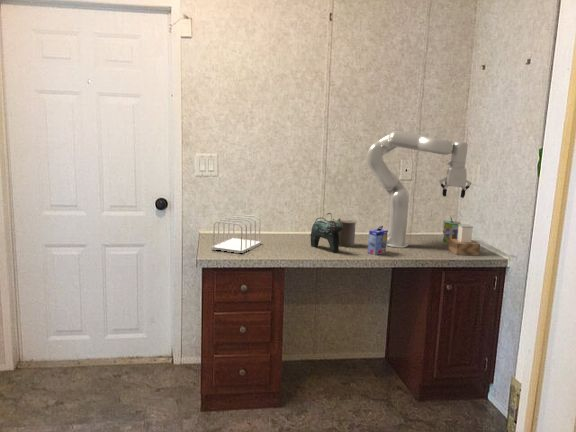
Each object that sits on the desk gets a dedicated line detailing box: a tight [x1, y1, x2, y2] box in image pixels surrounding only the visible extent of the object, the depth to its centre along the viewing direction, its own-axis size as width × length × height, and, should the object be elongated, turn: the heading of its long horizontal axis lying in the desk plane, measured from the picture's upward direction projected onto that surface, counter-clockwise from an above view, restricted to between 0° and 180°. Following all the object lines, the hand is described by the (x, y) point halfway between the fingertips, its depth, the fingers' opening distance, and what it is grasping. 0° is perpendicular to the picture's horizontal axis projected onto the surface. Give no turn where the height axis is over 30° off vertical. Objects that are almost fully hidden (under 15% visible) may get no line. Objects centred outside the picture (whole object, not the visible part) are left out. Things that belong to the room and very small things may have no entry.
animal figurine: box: [310, 212, 343, 254], centre depth 265 cm, size 20×6×20 cm, turn 41°
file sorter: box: [210, 213, 262, 254], centre depth 265 cm, size 25×17×16 cm
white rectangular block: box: [457, 223, 474, 243], centre depth 269 cm, size 6×6×9 cm
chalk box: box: [441, 216, 462, 243], centre depth 296 cm, size 9×9×15 cm
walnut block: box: [448, 239, 481, 256], centre depth 270 cm, size 12×12×6 cm
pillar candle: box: [338, 219, 356, 248], centre depth 277 cm, size 10×10×15 cm
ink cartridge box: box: [367, 225, 389, 256], centre depth 262 cm, size 10×6×14 cm, turn 136°
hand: (453, 196), depth 271 cm, fingers open, 9 cm apart
